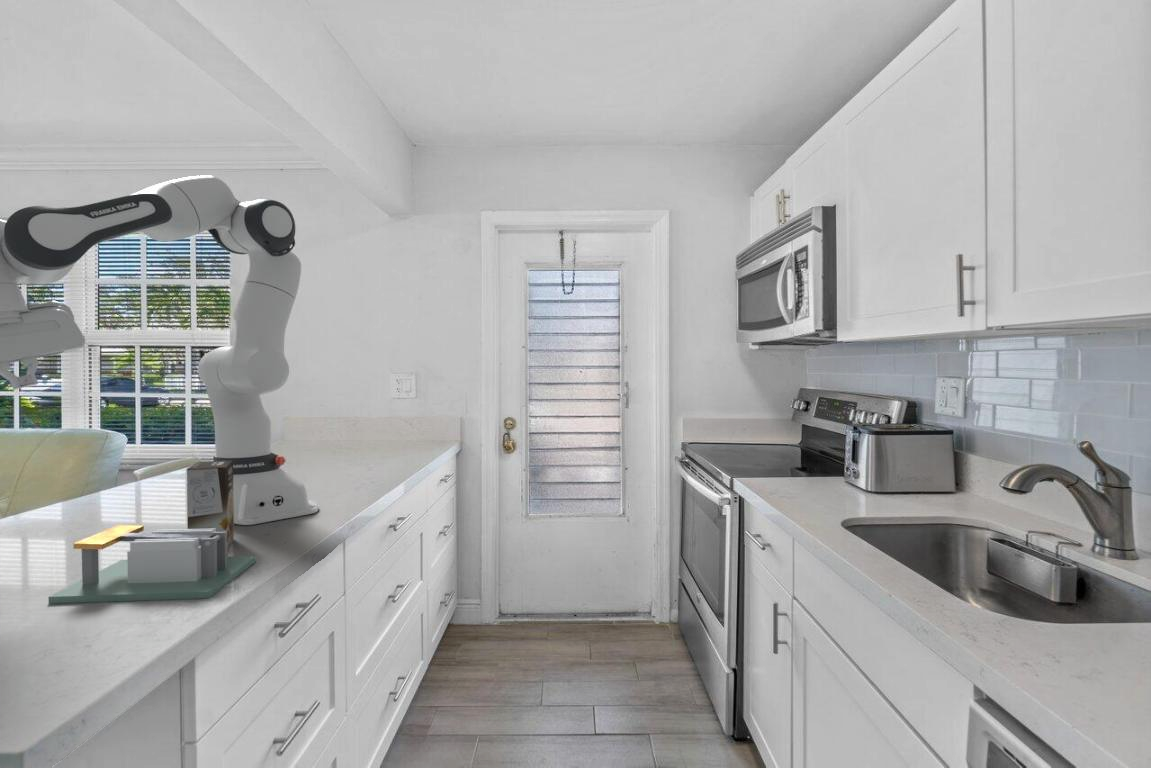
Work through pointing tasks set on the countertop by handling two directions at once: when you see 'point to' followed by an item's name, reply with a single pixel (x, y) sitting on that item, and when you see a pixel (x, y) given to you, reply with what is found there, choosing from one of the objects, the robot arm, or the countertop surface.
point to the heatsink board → (148, 590)
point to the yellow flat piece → (125, 537)
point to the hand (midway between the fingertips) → (26, 386)
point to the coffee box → (211, 497)
